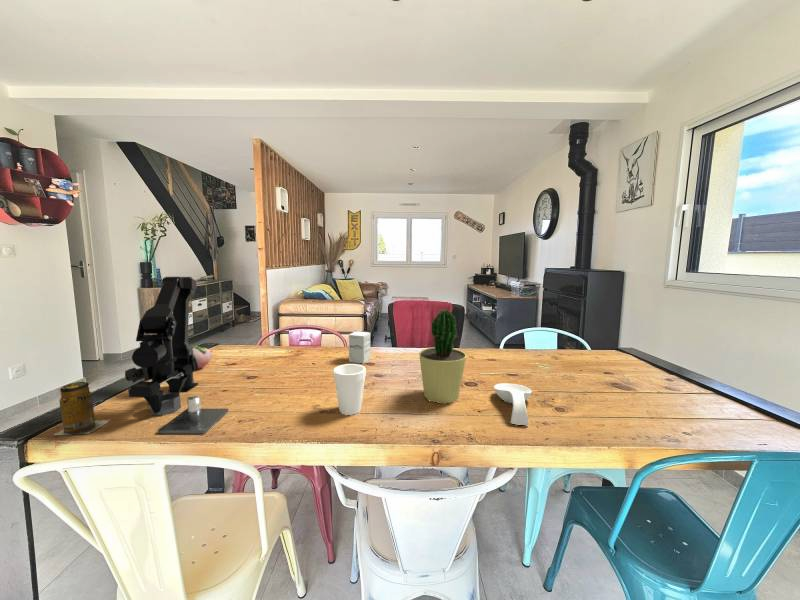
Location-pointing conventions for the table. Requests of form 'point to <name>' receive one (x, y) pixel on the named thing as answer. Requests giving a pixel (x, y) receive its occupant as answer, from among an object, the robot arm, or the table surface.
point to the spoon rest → (515, 400)
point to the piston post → (193, 419)
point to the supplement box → (359, 347)
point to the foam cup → (349, 387)
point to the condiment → (77, 410)
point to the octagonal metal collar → (168, 404)
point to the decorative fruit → (202, 355)
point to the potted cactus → (442, 361)
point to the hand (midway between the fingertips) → (165, 406)
